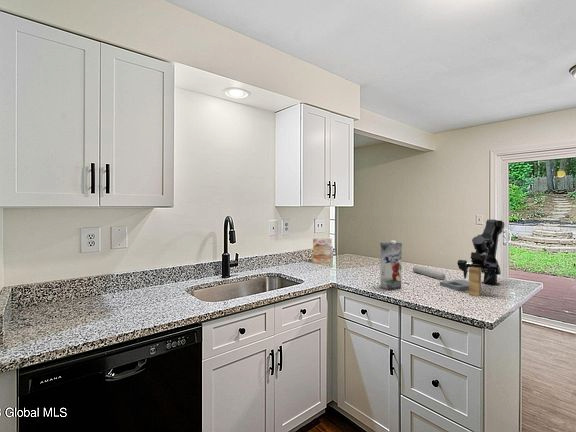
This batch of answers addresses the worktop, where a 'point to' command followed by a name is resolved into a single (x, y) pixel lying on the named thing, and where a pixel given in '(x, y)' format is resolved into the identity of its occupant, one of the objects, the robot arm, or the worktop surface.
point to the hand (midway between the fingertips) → (474, 279)
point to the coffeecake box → (322, 250)
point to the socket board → (456, 284)
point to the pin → (475, 281)
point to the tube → (429, 272)
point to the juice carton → (390, 265)
